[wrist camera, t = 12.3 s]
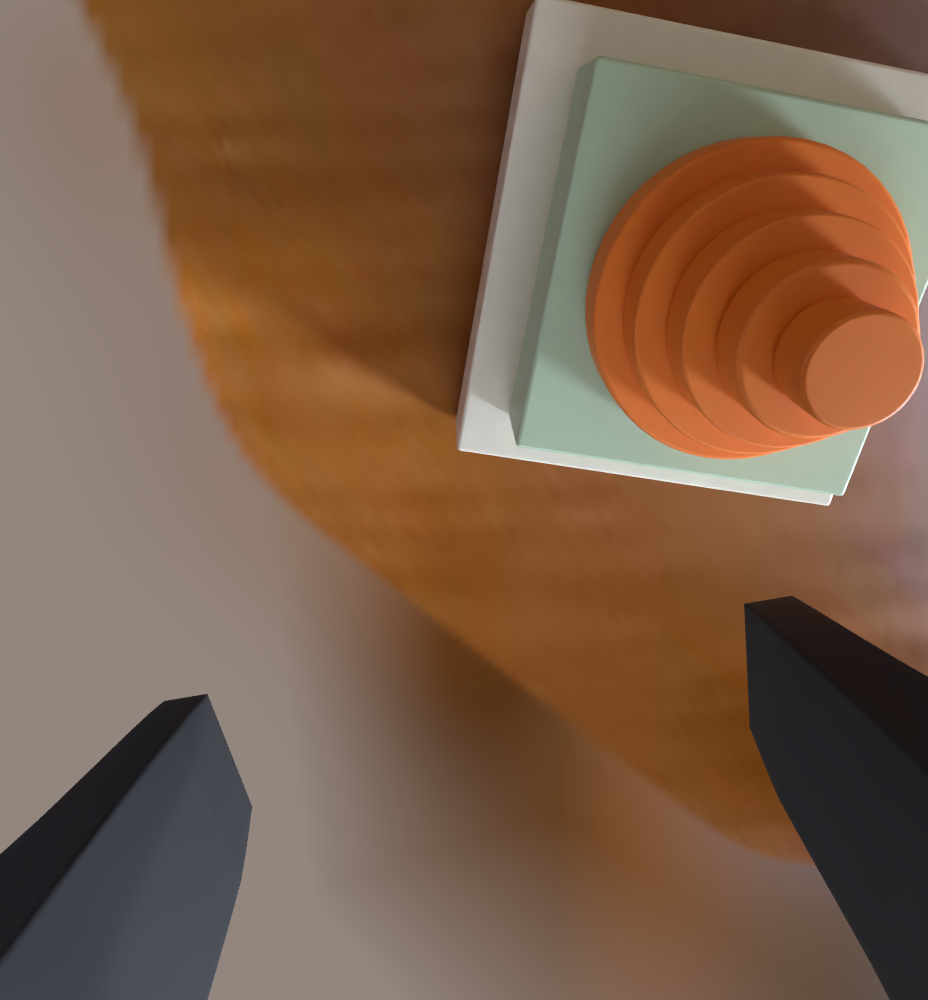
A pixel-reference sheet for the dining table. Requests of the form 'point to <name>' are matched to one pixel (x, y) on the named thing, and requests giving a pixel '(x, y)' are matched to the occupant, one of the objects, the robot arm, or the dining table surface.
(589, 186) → the top block
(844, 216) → the cone
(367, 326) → the dining table surface
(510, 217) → the base block
